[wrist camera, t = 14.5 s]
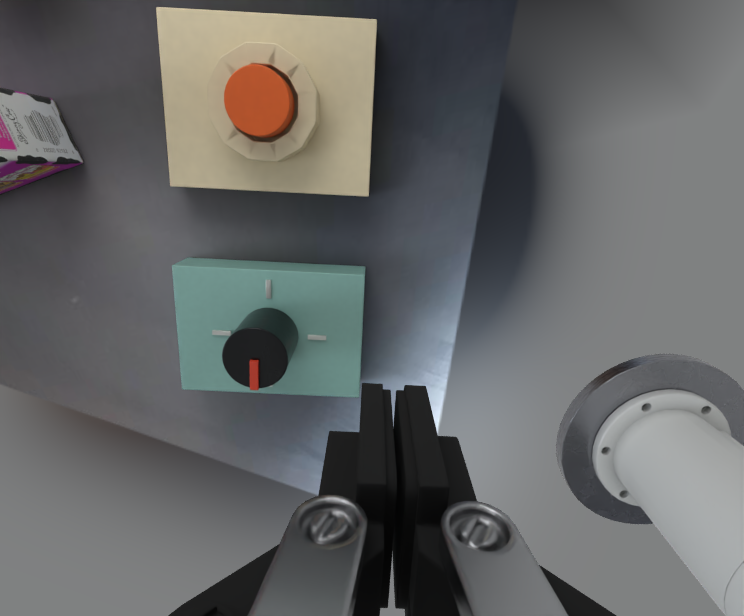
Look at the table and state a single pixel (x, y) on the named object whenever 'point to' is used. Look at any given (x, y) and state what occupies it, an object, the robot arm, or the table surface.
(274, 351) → the knob
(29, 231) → the table surface
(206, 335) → the dial panel
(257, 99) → the power button
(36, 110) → the candy bar box
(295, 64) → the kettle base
